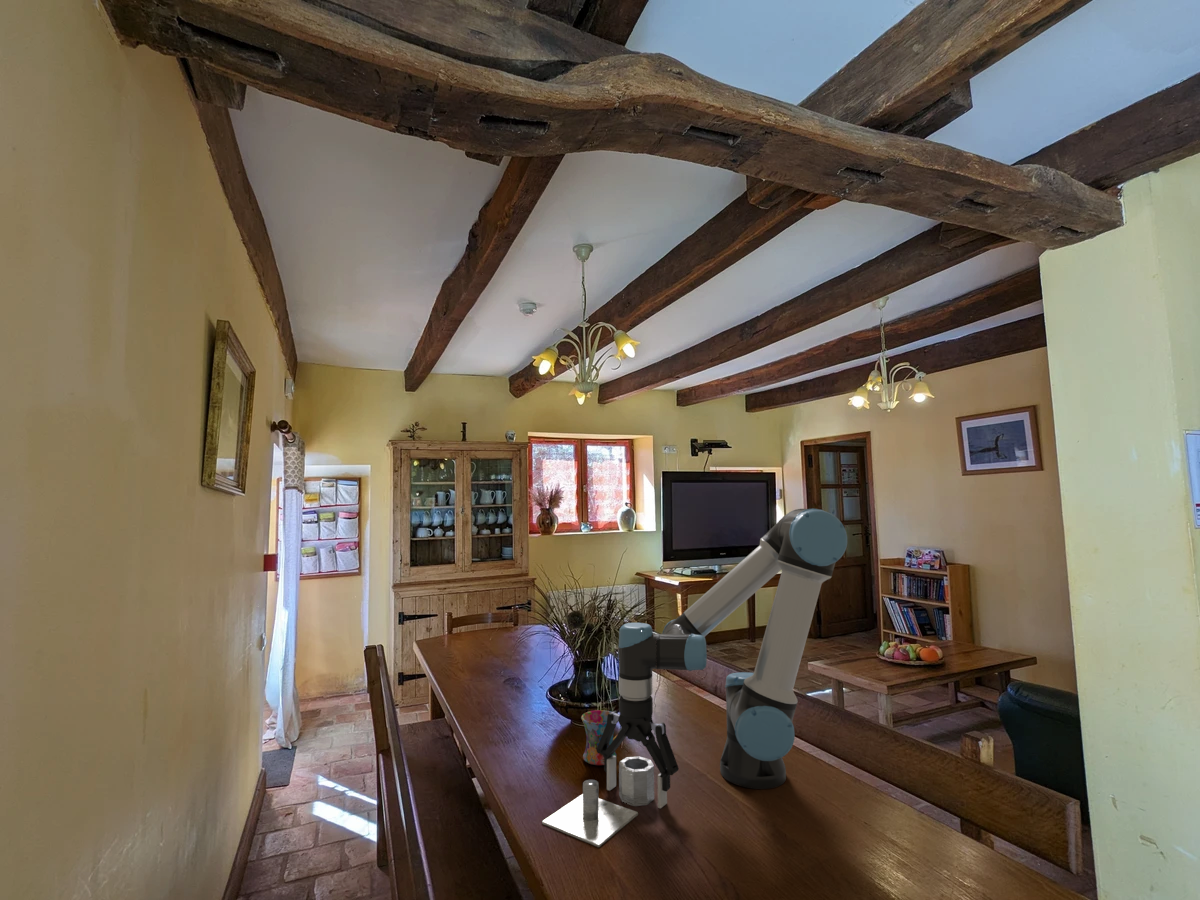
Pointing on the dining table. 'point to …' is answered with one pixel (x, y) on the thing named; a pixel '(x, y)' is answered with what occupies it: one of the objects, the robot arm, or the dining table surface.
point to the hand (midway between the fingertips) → (636, 796)
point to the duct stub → (590, 817)
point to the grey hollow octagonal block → (636, 781)
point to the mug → (595, 735)
